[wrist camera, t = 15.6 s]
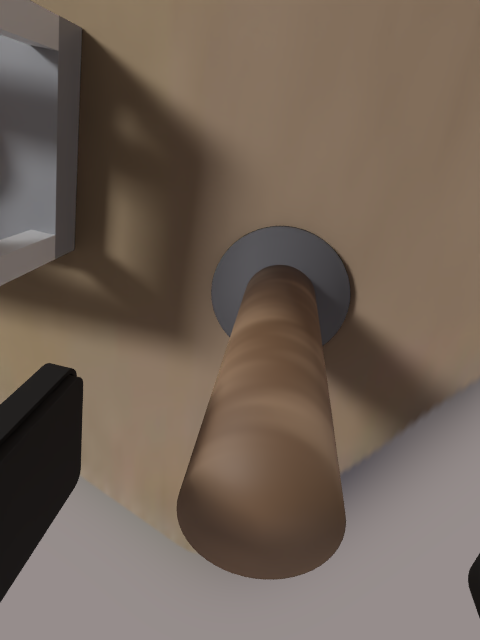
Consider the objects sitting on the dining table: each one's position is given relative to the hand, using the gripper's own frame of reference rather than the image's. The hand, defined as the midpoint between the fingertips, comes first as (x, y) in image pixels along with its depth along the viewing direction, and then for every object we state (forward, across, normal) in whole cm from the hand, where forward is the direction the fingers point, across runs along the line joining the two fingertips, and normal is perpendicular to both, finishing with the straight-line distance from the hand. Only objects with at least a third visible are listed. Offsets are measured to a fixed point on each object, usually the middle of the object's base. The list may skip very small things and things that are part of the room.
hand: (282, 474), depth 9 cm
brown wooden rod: (+14, +1, +1) cm, 14 cm away
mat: (+14, +1, +1) cm, 14 cm away
